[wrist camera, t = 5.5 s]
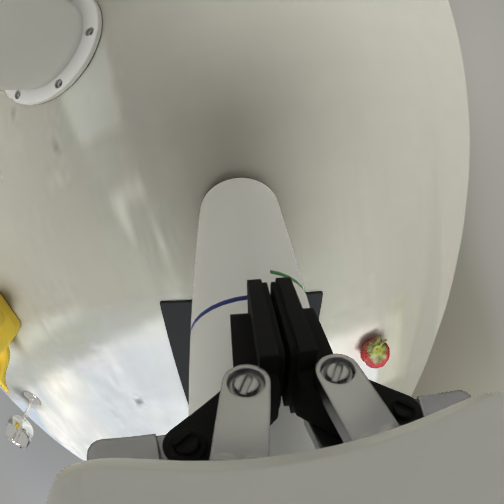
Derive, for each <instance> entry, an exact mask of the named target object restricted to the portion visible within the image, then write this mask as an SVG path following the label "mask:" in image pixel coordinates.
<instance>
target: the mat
mask: <svg viewBox="0 0 504 504" xmlns="http://www.w3.org/2000/svg"><path fill="white" fill-rule="evenodd" d="M322 295H323V293H322V291H321V292H310V293H306V296H307V299H308V302H309V306H310V308H313V309H314V311H315V313H316V315H317V317H318V319H319V314H320V308H321V302H322ZM160 305H161V310H162V314H163V318H164V322H165V326H166V330H167V334H168V338H169V341H170V345H171V349H172V352H173V356H174V359H175V363H176V366H177V370H178V373H179V376H180V380H181V383H182V386H183V389H184V392H185V395H186V398H187V401H188V404H189V361H190V336H191V314H192V300H186V301H161V302H160Z"/></svg>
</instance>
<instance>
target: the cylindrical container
mask: <svg viewBox="0 0 504 504" xmlns="http://www.w3.org/2000/svg"><path fill="white" fill-rule="evenodd" d="M282 277H290V278H291V280H292V282H293V285H294V287H295V290H296V292H297V295H298V297H299V300H300V302H301V305H302V308H310V306H309V302H308V299H307V296H306V292H305V288H304V285H303V282H302V278H301V275H300V271H299V268H298V265H297V261H296V258H295V255H294V251H293V248H292V245H291V241H290V238H289V235H288V232H287V229H286V225H285V222H284V219H283V216H282V213H281V210H280V206H279V203H278V200H277V198H276V196H275V194H274V193H273V191H272V190H271V189H269V188H268V187H267V186H266V185H264V184H263V183H261V182H259V181H256V180H254V179H249V178H234V179H229V180H226V181H223V182H221V183H219V184H217V185H216V186H214V187H213V188H212V189H211V190H210V191H208V193H207V194H206V195H205V197H204V198H203V201H202V203H201V207H200V214H199V224H198V234H197V245H196V256H195V268H194V282H193V297H192V314H191V336H190V361H189V416H190V415H191V414H192V413H194V412H195V411H196V410H197V409H199V408H200V407H201V406H202V405H204V404H205V403H206V402H207V401H209V400H210V399H211V398H212V397H213V396H215V395H216V394H217V393H218V392H219V391H220V389H221V383H222V379H223V376H224V375H225V373H226V372H227V371H228V370H230V369H231V368H233V357H232V342H231V325H230V314H244V313H248V303H247V280H253V279H261V280H262V283H263V282H267V284H268V288H269V292H270V284H271V282H275V280H276V278H282ZM303 420H304V419H302V418H300V417H298V416H297V415H296V413H290V408H289V406H285V407H284V405H283V400H282V396H281V403H280V407H279V412H278V418H277V419H276V420H275V421H274V422H273V424H272V425H271V426H270V456H269V457H271V456H279V455H286V454H293V453H299V452H305V451H310V450H315V447H314V445H313V443H312V441H311V438H310V436H309V434H308V432H307V430H306V427H305V425H304V421H303Z"/></svg>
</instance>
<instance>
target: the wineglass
mask: <svg viewBox="0 0 504 504" xmlns="http://www.w3.org/2000/svg"><path fill="white" fill-rule="evenodd" d="M23 394H24V396H25V397H26V398H27V399H28V400H29V404H28V407H27V409H26V411H25V412H24V414H23V417H21V416H17V415H14V416H12V417H11V418H10V419H9V421H8V423H7V428H6V438H7V439H8V440H9V441H11V442H12V443H14V444H15V445H16V446H18V447H20V448H22V449H26V448H27V447H28V445H29V443H30V441H31V440H32V437H33V428H32V426H31V424H30V423H29V422H28V421H27V420H26V418H27V416H28V410H29V408H30V405H31V404H32V403H34V404H36V405H41V402H40V400H39V399H38V398H37V397H36V396H34V395H33V394H31V393H29V392H24V393H23Z"/></svg>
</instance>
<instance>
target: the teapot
mask: <svg viewBox="0 0 504 504" xmlns="http://www.w3.org/2000/svg"><path fill="white" fill-rule="evenodd" d="M20 324H21V323H20V321H19V319H18V318H17V316H16V315H15V314H14V312H13V311H12V309H11V308H10V307H9V305H8V304H7V302H6V301H5V299H4V298H3V296H2V295H1V293H0V385H1V386H2V387H3V388H4V390H6V391H7V392H8V393H9V390H8V388H7V385H6V381H5V375H6V370H7V367H8V363H9V359H10V350H9V346H8V345H9V344H10V343H11V341H12V340H13V339H14V337H15V336H16V334H17V333H18V331H19V328H20Z"/></svg>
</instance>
